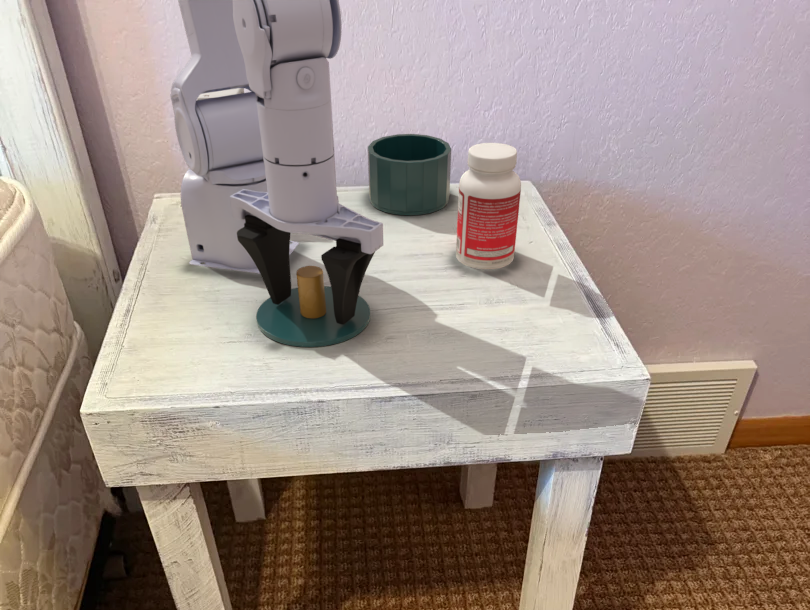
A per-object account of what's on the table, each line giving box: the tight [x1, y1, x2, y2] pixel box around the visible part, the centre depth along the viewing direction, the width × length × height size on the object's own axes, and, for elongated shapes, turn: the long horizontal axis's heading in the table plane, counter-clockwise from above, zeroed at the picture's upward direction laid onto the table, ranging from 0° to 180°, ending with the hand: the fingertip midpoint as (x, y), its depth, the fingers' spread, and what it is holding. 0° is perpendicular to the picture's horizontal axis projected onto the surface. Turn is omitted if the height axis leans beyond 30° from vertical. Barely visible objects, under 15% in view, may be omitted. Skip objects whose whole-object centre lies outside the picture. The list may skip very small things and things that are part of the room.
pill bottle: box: [455, 142, 522, 270], centre depth 77 cm, size 6×6×11 cm
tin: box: [367, 133, 452, 216], centre depth 91 cm, size 10×10×6 cm
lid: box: [255, 265, 371, 348], centre depth 70 cm, size 11×11×5 cm
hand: (313, 309), depth 71 cm, fingers open, 7 cm apart
